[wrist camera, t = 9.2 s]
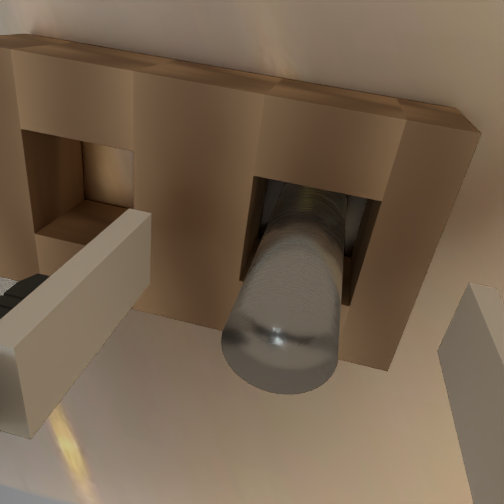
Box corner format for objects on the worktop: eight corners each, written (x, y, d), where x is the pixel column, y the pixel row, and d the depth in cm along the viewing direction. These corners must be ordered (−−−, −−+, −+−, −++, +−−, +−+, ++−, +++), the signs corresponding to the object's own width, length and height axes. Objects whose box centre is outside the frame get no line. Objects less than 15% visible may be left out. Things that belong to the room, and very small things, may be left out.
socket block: (48, 237, 24) (-4, 275, 20) (25, 33, 19) (-49, 38, 15) (382, 314, 22) (387, 371, 18) (456, 108, 17) (481, 133, 13)
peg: (274, 226, 21) (216, 378, 12) (285, 165, 19) (227, 290, 11) (338, 240, 20) (324, 406, 12) (353, 179, 19) (351, 318, 10)
